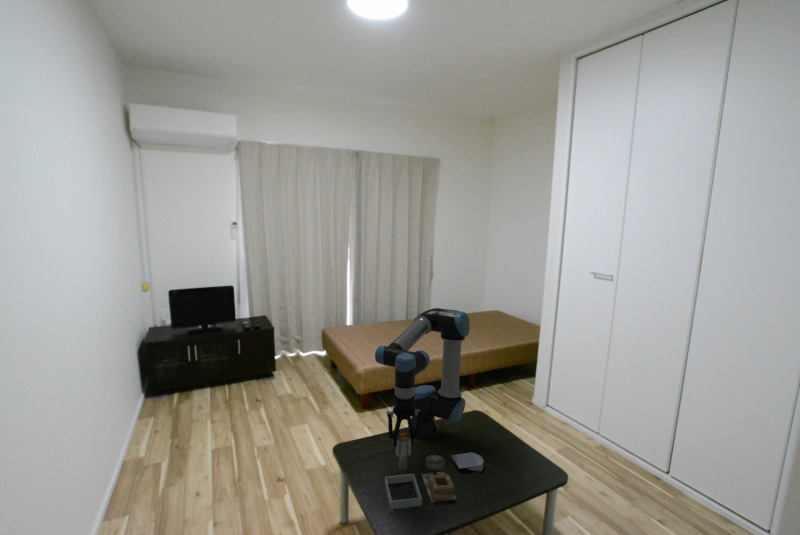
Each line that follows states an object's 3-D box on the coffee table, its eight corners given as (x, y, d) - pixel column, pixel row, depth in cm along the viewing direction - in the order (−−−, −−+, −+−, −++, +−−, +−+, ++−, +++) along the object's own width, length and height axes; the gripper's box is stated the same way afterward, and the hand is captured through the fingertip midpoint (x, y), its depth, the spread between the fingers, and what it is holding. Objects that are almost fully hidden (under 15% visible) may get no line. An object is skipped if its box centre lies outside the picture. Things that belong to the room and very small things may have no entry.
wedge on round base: (458, 475, 157) (486, 471, 160) (459, 461, 156) (487, 456, 160) (450, 462, 166) (477, 458, 169) (451, 448, 165) (477, 444, 168)
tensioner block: (420, 475, 157) (421, 454, 156) (443, 472, 159) (444, 452, 158) (431, 504, 141) (432, 482, 140) (456, 501, 142) (457, 479, 141)
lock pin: (396, 464, 145) (397, 432, 143) (406, 463, 145) (407, 431, 144) (398, 471, 141) (399, 438, 139) (408, 470, 141) (409, 437, 140)
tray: (384, 485, 150) (384, 476, 150) (413, 482, 153) (413, 473, 152) (390, 511, 137) (390, 502, 136) (421, 507, 139) (421, 498, 138)
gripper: (383, 401, 135) (382, 461, 137) (428, 398, 138) (427, 457, 140) (380, 392, 142) (379, 449, 145) (423, 389, 145) (422, 446, 148)
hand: (403, 453), depth 142 cm, fingers closed on lock pin, 4 cm apart
